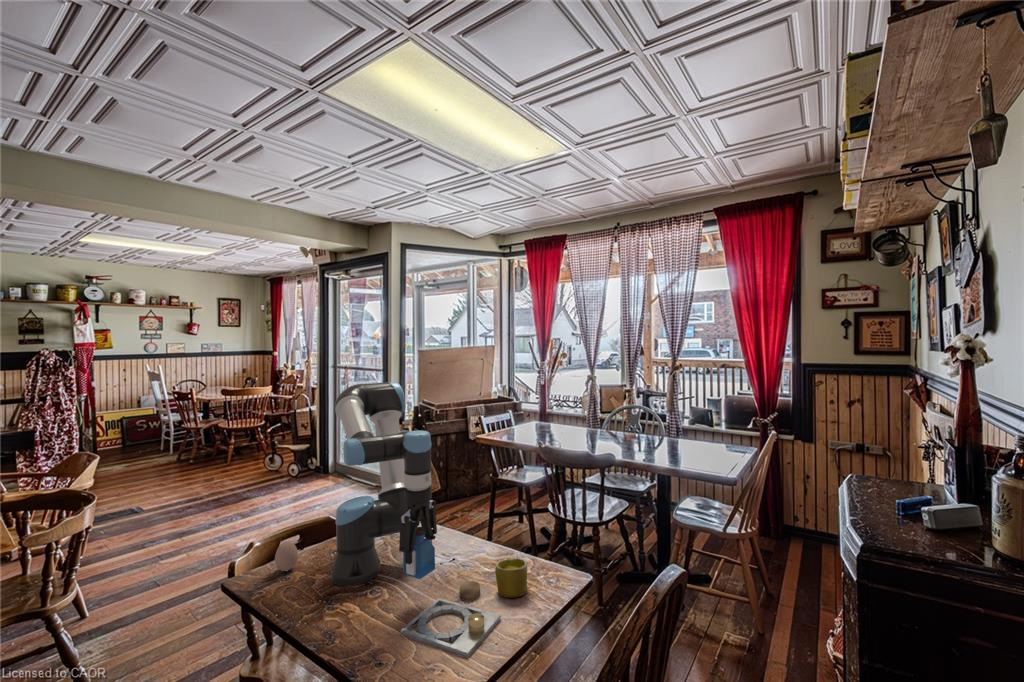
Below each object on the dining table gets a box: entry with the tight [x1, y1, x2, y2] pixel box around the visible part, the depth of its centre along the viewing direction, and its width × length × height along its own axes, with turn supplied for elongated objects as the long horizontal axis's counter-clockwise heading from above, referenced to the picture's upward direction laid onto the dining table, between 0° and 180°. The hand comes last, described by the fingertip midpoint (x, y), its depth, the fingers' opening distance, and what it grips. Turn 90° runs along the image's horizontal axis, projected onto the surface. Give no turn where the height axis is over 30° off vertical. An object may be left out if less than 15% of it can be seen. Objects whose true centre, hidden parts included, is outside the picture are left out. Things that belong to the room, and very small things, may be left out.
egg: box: [274, 540, 299, 572], centre depth 146 cm, size 7×7×10 cm
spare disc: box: [458, 580, 481, 601], centre depth 129 cm, size 6×6×2 cm
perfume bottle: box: [402, 526, 436, 580], centre depth 125 cm, size 6×6×12 cm
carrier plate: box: [400, 597, 502, 659], centre depth 114 cm, size 20×16×4 cm
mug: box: [495, 556, 528, 599], centre depth 131 cm, size 12×10×10 cm
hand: (419, 567), depth 125 cm, fingers closed on perfume bottle, 6 cm apart
